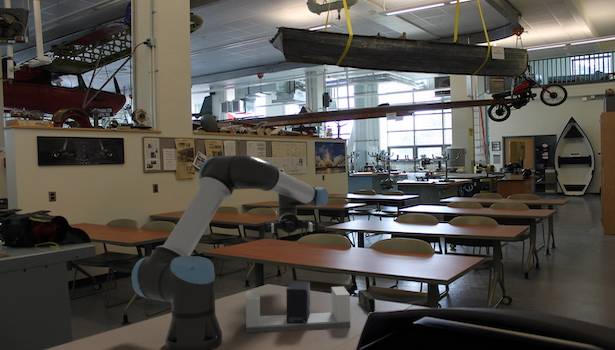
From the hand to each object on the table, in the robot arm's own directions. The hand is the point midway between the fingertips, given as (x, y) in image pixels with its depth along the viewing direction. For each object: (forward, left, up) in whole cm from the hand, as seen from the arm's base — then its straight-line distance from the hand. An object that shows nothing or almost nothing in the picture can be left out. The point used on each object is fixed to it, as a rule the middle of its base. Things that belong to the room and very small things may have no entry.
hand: (292, 228), depth 157 cm
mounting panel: (0, -19, -27) cm, 33 cm away
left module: (-14, -19, -26) cm, 35 cm away
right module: (+13, -19, -26) cm, 35 cm away
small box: (0, -19, -26) cm, 32 cm away
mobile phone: (+25, -6, -28) cm, 38 cm away
